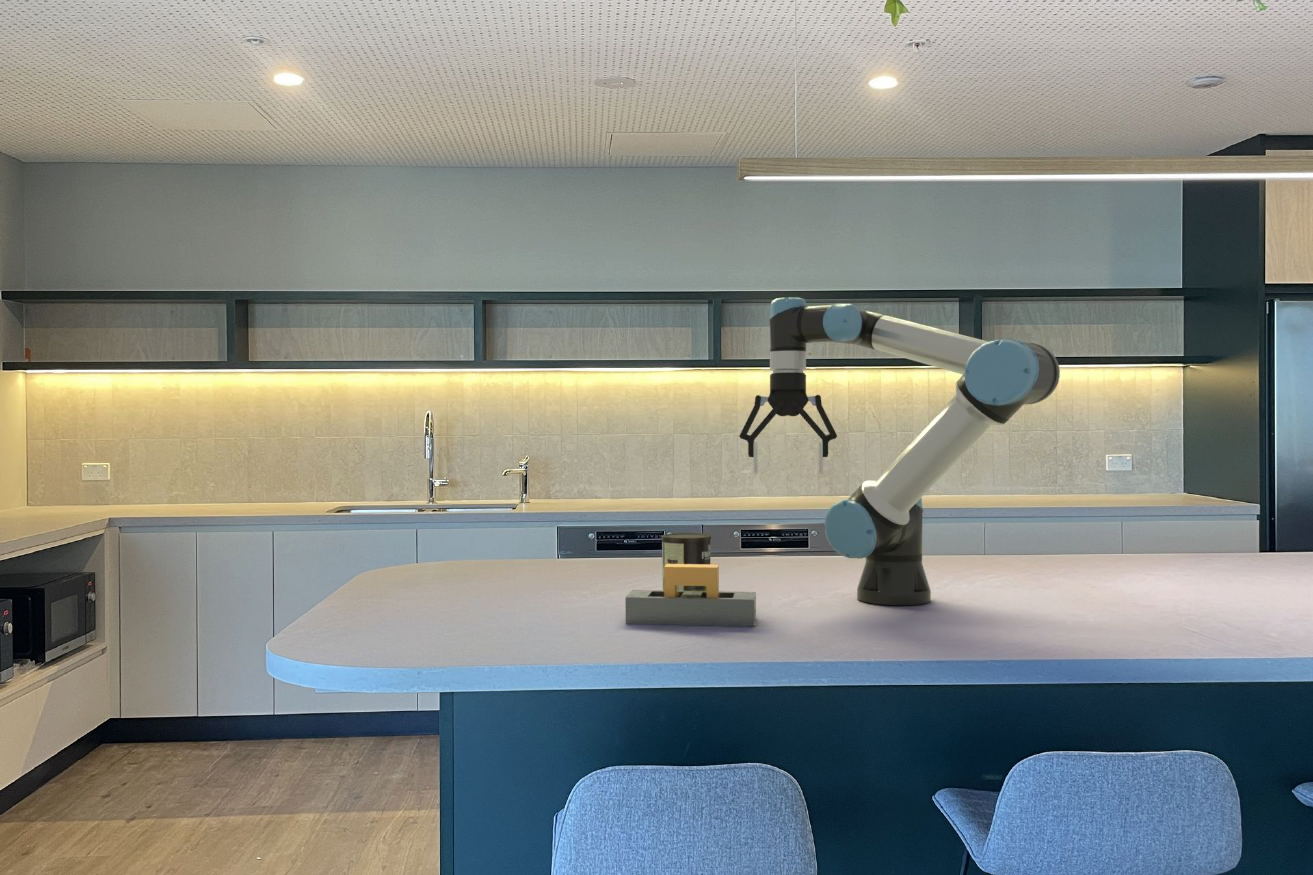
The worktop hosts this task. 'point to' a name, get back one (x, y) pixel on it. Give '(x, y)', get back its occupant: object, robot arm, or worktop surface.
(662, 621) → the gray slotted block
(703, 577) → the clip
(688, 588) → the coffee can
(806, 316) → the robot arm
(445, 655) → the worktop surface
